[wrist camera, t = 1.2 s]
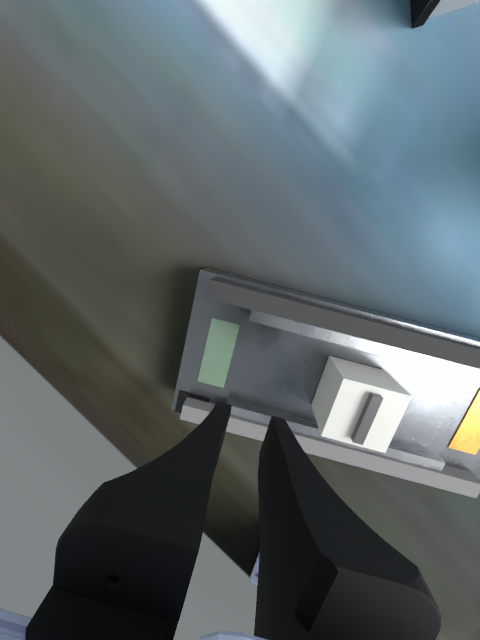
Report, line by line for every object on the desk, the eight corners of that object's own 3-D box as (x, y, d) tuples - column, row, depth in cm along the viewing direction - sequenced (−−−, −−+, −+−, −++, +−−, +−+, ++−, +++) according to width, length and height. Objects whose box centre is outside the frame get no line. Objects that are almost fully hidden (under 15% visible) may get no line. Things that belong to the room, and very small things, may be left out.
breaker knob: (364, 419, 19) (388, 458, 16) (311, 404, 20) (322, 440, 16) (385, 370, 18) (416, 400, 15) (329, 355, 18) (345, 381, 15)
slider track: (452, 465, 23) (485, 502, 19) (180, 393, 23) (166, 417, 20) (518, 348, 20) (571, 368, 17) (207, 267, 20) (196, 270, 17)
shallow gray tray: (463, 484, 20) (476, 498, 19) (184, 409, 21) (179, 419, 19) (536, 361, 18) (556, 369, 16) (213, 277, 18) (210, 279, 17)
